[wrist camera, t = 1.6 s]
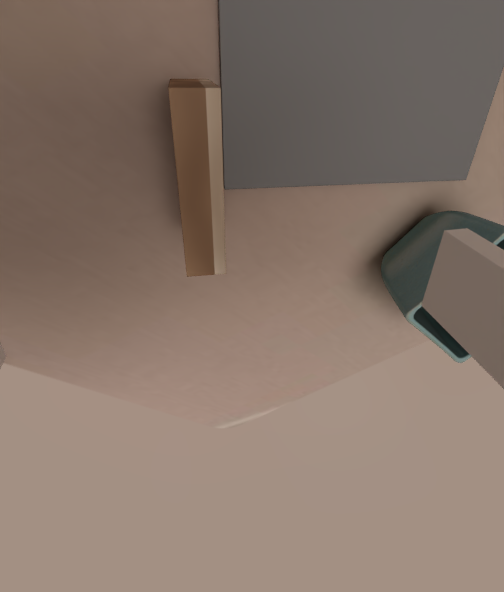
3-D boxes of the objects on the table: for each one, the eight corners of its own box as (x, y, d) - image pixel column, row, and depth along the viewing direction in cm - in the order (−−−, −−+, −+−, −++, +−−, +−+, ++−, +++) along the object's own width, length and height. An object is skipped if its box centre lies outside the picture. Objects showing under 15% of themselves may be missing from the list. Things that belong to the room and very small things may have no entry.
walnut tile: (184, 226, 29) (186, 276, 22) (170, 78, 23) (168, 87, 17) (214, 224, 29) (226, 273, 22) (208, 79, 24) (220, 88, 17)
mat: (223, 186, 27) (224, 189, 27) (214, -125, 19) (215, -130, 18) (461, 177, 30) (465, 179, 30) (549, -94, 22) (558, -98, 21)
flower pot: (404, 305, 37) (461, 367, 30) (353, 260, 33) (403, 318, 26) (477, 243, 35) (559, 293, 27) (431, 184, 30) (513, 226, 23)
